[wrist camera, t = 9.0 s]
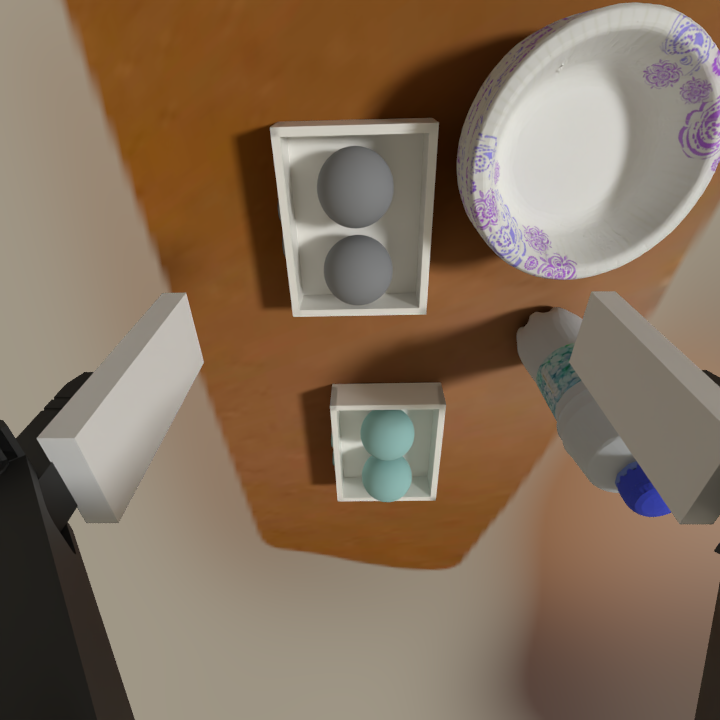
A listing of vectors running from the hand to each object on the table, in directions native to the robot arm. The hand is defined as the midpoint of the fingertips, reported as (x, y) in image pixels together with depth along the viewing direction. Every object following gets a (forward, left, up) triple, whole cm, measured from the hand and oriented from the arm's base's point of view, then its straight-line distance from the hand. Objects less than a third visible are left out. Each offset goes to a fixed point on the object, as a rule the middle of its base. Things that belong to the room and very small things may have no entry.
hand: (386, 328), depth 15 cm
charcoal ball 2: (+6, -1, -23) cm, 24 cm away
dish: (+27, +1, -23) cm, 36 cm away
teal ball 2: (+30, +1, -23) cm, 38 cm away
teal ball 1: (+24, +1, -23) cm, 33 cm away
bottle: (+14, +16, -24) cm, 32 cm away
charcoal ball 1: (0, -1, -23) cm, 23 cm away
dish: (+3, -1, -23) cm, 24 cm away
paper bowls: (-2, +13, -24) cm, 27 cm away
